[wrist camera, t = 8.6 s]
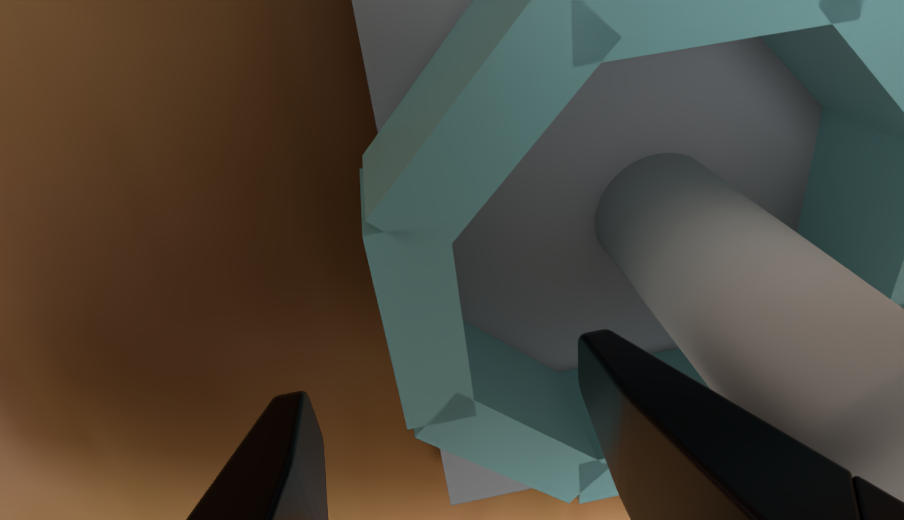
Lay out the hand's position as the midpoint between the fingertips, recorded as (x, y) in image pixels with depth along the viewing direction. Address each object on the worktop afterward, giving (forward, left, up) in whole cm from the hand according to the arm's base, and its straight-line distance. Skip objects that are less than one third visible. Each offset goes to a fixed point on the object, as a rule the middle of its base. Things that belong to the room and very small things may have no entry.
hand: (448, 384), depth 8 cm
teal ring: (-4, 0, -4) cm, 6 cm away
